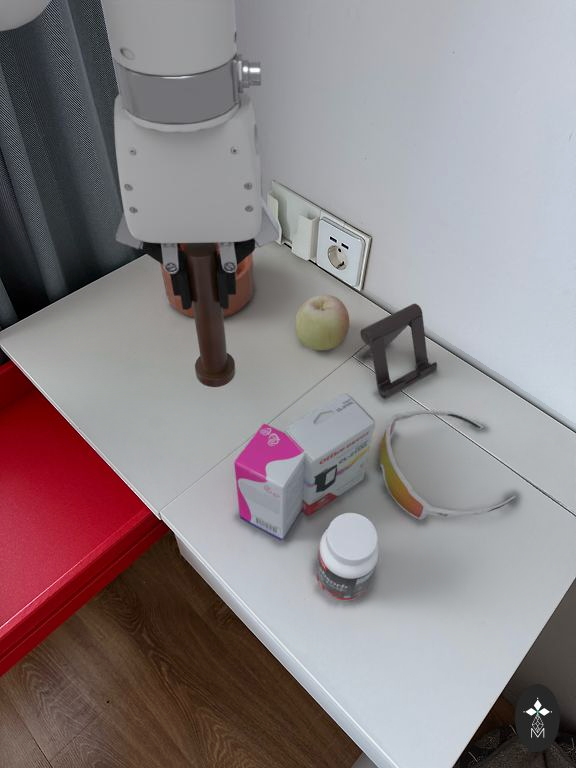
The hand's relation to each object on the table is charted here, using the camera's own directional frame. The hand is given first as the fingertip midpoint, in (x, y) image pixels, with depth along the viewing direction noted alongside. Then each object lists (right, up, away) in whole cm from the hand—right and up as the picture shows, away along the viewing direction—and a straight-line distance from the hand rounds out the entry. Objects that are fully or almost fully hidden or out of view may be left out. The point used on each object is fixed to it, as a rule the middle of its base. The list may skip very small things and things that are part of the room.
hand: (206, 297), depth 51 cm
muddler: (0, -6, +8) cm, 10 cm away
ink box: (+11, -19, +17) cm, 28 cm away
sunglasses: (+25, -18, +18) cm, 36 cm away
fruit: (+12, -2, +31) cm, 34 cm away
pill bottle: (+13, -28, +10) cm, 32 cm away
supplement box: (+6, -22, +14) cm, 27 cm away
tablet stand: (+21, -6, +28) cm, 36 cm away
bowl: (-5, +6, +37) cm, 38 cm away
